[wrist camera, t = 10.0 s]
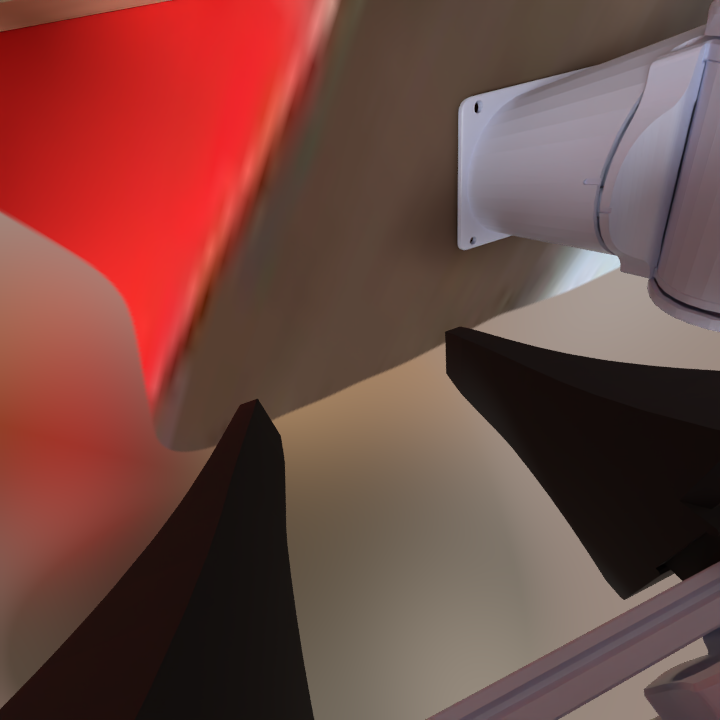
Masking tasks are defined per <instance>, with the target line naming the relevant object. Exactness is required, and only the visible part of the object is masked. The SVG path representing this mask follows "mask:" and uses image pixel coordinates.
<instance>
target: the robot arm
mask: <svg viewBox="0 0 720 720" xmlns="http://www.w3.org/2000/svg"><path fill="white" fill-rule="evenodd" d="M476 103H477V104H478V111H477V113H476V112H475V110H474V107H475V104H476ZM512 235H513V236H518V237H524V238H529V239H534V240H539V241H544V242H549V243H554V244H560V245H565V246H570V247H575V248H580V249H585V250H590V251H596V252H601V253H606V254H611V255H617V256H618V257H619V259H620V263H621V265H620V271H621V272H624V273H629V274H633V275H637V276H641V277H645V278H649V280H648V287H647V289H648V292H649V296H650V298H651V299H652V301H653V302H654V304H655V305H656V306H658V307H659V308H660V309H661V310H663V311H664V312H665V313H667V314H669V315H671V316H673V317H674V318H676V319H679V320H681V321H684V322H686V323H688V324H692V325H695V326H698V327H701V328H705V329H708V330H713V331H717V332H720V0H714V1H713V2H712V3H711V5H710V8H709V12H708V20H707V24H704V25H702V26H699V27H696V28H694V29H691V30H689V31H686V32H683V33H681V34H678V35H675V36H673V37H670V38H668V39H665V40H662V41H660V42H657V43H654V44H652V45H649V46H646V47H644V48H641V49H639V50H636V51H633V52H631V53H628V54H625V55H623V56H620V57H618V58H615V59H612V60H610V61H607V62H604V63H602V64H599V65H596V66H592V67H588V68H583V69H579V70H575V71H571V72H567V73H563V74H559V75H555V76H551V77H547V78H543V79H539V80H535V81H531V82H527V83H523V84H519V85H515V86H511V87H507V88H503V89H499V90H495V91H491V92H487V93H483V94H479V95H475V96H471V97H468V98H466V99H465V100H463V102H462V103H461V105H460V107H459V119H458V247H459V248H460V249H462V250H467V249H471V248H474V247H477V246H480V245H483V244H486V243H490V242H493V241H496V240H499V239H502V238H506V237H509V236H512ZM472 237H473V241H472V242H471V243H470V239H471V238H472ZM445 338H446V373H447V375H448V376H449V378H450V379H451V381H452V382H453V383H454V385H455V386H456V387H457V389H458V390H459V391H460V393H461V394H462V395H463V396H464V397H465V398H466V399H467V400H468V401H469V402H470V403H471V405H473V407H474V408H475V409H476V410H477V411H478V412H479V413H480V414H481V415H482V416H483V417H484V418H485V419H486V420H487V421H488V422H489V423H490V424H491V425H492V426H493V427H494V428H495V429H496V430H497V431H498V433H499V434H500V435H501V436H502V437H503V438H504V439H505V440H506V441H507V442H508V443H509V445H510V446H511V447H512V448H513V449H514V450H515V452H516V453H517V454H518V456H519V457H520V458H521V459H522V461H523V462H524V463H525V465H526V466H527V467H528V468H529V470H530V471H531V472H532V474H533V475H534V476H535V477H536V479H537V480H538V481H539V483H540V484H541V486H542V487H543V488H544V490H545V491H546V492H547V493H548V495H549V496H550V497H551V499H552V500H553V502H554V503H555V505H556V506H557V507H558V509H559V510H560V512H561V513H562V515H563V516H564V517H565V519H566V520H567V522H568V523H569V524H570V526H571V527H572V529H573V530H574V532H575V533H576V535H577V536H578V538H579V539H580V541H581V543H582V544H583V546H584V547H585V549H586V550H587V552H588V553H589V554H590V556H591V558H592V559H593V561H594V562H595V564H596V565H597V567H598V569H599V570H600V572H601V573H602V575H603V577H604V578H605V580H606V581H607V582H608V583H609V584H610V586H611V587H612V588H613V589H614V590H615V591H616V592H617V594H618V595H619V596H620V597H621V598H622V599H624V600H625V599H627V598H629V597H631V596H633V595H634V594H637V593H638V592H640V591H642V590H644V589H646V588H648V587H650V586H652V585H654V584H656V583H657V582H659V581H661V580H663V579H665V578H667V577H669V576H671V575H672V574H674V573H675V574H676V575H677V576H678V577H679V578H680V579H681V580H682V582H680V583H679V584H677V585H675V586H673V587H671V588H670V589H667V590H666V591H664V592H662V593H660V594H658V595H656V596H655V597H653V598H651V599H649V600H647V601H645V602H643V603H641V604H640V605H638V606H636V607H634V608H632V609H630V610H628V611H627V612H625V613H623V614H621V615H619V616H617V617H615V618H614V619H612V620H610V621H608V622H606V623H604V624H602V625H601V626H599V627H597V628H595V629H593V630H591V631H589V632H587V633H586V634H584V635H582V636H580V637H578V638H576V639H575V640H573V641H571V642H569V643H567V644H565V645H563V646H562V647H560V648H558V649H556V650H554V651H552V652H550V653H549V654H547V655H545V656H543V657H541V658H539V659H537V660H536V661H534V662H532V663H530V664H528V665H526V666H524V667H522V668H521V669H519V670H517V671H515V672H513V673H511V674H509V675H508V676H506V677H504V678H502V679H500V680H498V681H497V682H495V683H493V684H491V685H489V686H487V687H485V688H483V689H482V690H480V691H478V692H476V693H474V694H472V695H470V696H469V697H467V698H465V699H463V700H461V701H459V702H457V703H456V704H454V705H452V706H450V707H448V708H446V709H444V710H442V711H441V712H439V713H437V714H435V715H433V716H431V717H430V718H428V719H426V720H558V719H560V718H562V717H563V716H565V715H567V714H569V713H570V712H572V711H574V710H576V709H577V708H579V707H581V706H582V705H584V704H586V703H588V702H590V701H591V700H593V699H595V698H596V697H598V696H600V695H602V694H603V693H605V692H607V691H609V690H610V689H612V688H614V687H616V686H617V685H619V684H621V683H622V682H624V681H626V680H628V679H629V678H631V677H633V676H635V675H636V674H638V673H640V672H642V671H643V670H645V669H647V668H649V667H650V666H652V665H654V664H655V663H657V662H659V661H661V660H663V659H664V658H666V657H668V656H670V655H671V654H673V653H675V652H677V651H678V650H680V649H682V648H684V647H685V646H687V645H689V644H690V643H692V642H694V641H696V640H697V639H699V638H701V637H703V640H704V643H705V645H706V647H707V649H708V655H705V656H702V657H699V658H696V659H693V660H690V661H687V662H684V663H682V664H679V665H677V666H675V667H673V668H671V669H670V670H668V671H666V672H664V673H663V674H661V675H660V676H659V677H658V678H657V679H656V680H654V681H653V682H652V683H651V684H650V685H648V686H647V687H646V688H645V689H644V695H645V697H646V698H647V700H648V701H649V702H650V704H651V705H652V706H653V708H654V709H655V710H656V712H657V713H658V714H659V716H657V717H656V718H653V719H651V720H720V371H715V370H699V369H684V368H671V367H659V366H648V365H640V364H632V363H623V362H615V361H607V360H601V359H595V358H589V357H583V356H577V355H572V354H566V353H562V352H557V351H552V350H548V349H544V348H539V347H535V346H531V345H527V344H523V343H520V342H516V341H512V340H509V339H504V338H501V337H498V336H494V335H491V334H487V333H484V332H480V331H477V330H473V329H469V328H464V327H457V328H455V329H452V330H449V331H446V332H445ZM285 498H286V495H285V461H284V453H283V448H282V441H281V436H280V434H279V432H278V431H277V429H276V427H275V426H274V424H273V423H272V421H271V419H270V418H269V416H268V415H267V413H266V411H265V410H264V408H263V406H262V405H261V403H260V402H259V400H258V399H255V400H253V401H250V402H247V403H244V404H241V405H240V406H239V408H238V409H237V411H236V413H235V415H234V416H233V418H232V420H231V422H230V424H229V425H228V427H227V429H226V431H225V432H224V434H223V436H222V438H221V439H220V441H219V443H218V445H217V446H216V448H215V450H214V451H213V453H212V455H211V457H210V458H209V460H208V461H207V463H206V465H205V466H204V468H203V469H202V471H201V472H200V474H199V475H198V477H197V479H196V480H195V482H194V483H193V485H192V486H191V488H190V489H189V491H188V492H187V494H186V495H185V497H184V498H183V500H182V501H181V503H180V504H179V505H178V507H177V508H176V510H175V511H174V512H173V514H172V515H171V516H170V518H169V519H168V521H167V522H166V523H165V524H164V526H163V527H162V528H161V530H160V531H159V532H158V534H157V535H156V536H155V538H154V539H153V540H152V541H151V543H150V544H149V545H148V546H147V547H146V549H145V550H144V551H143V552H142V554H141V555H140V556H139V557H138V558H137V560H136V561H135V562H134V563H133V564H132V566H131V567H130V568H129V569H128V571H127V572H126V573H125V574H124V575H123V577H122V578H121V579H120V580H119V582H118V583H117V584H116V585H115V586H114V588H113V589H112V590H111V591H110V592H109V593H108V595H107V596H106V597H105V598H104V599H103V600H102V601H101V602H100V603H99V605H98V606H97V607H96V608H95V609H94V610H93V611H92V612H91V614H90V615H89V616H88V617H87V618H86V619H85V620H84V621H83V623H82V624H81V625H80V626H79V627H78V628H77V629H76V630H75V631H74V632H73V633H72V635H71V636H70V637H69V638H68V639H67V640H66V641H65V642H64V643H63V644H62V645H61V646H60V648H59V649H58V650H57V651H56V652H55V653H54V654H53V655H52V656H51V657H50V658H49V659H48V660H47V662H46V663H45V664H44V665H43V666H42V667H41V668H40V669H39V670H38V671H37V672H36V673H35V674H34V675H33V676H32V677H31V678H30V679H29V680H28V681H27V682H26V683H25V684H24V685H23V686H22V687H21V688H20V690H19V691H18V692H17V693H16V694H15V695H14V696H13V697H12V698H11V699H10V700H9V701H8V702H7V703H6V704H5V705H4V706H3V707H2V708H1V709H0V720H314V717H313V711H312V706H311V700H310V694H309V689H308V683H307V678H306V672H305V666H304V660H303V655H302V649H301V642H300V635H299V629H298V623H297V616H296V609H295V602H294V595H293V587H292V579H291V572H290V563H289V554H288V546H287V533H286V499H285Z"/></svg>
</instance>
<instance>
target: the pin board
mask: <svg viewBox="0 0 720 720" xmlns="http://www.w3.org/2000/svg"><path fill="white" fill-rule="evenodd" d="M164 1H170V0H0V32H1V31H7V30H12V29H17V28H23V27H28V26H34V25H39V24H45V23H50V22H56V21H61V20H66V19H72V18H77V17H83V16H88V15H94V14H99V13H104V12H110V11H115V10H121V9H126V8H132V7H137V6H142V5H148V4H153V3H159V2H164Z"/></svg>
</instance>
